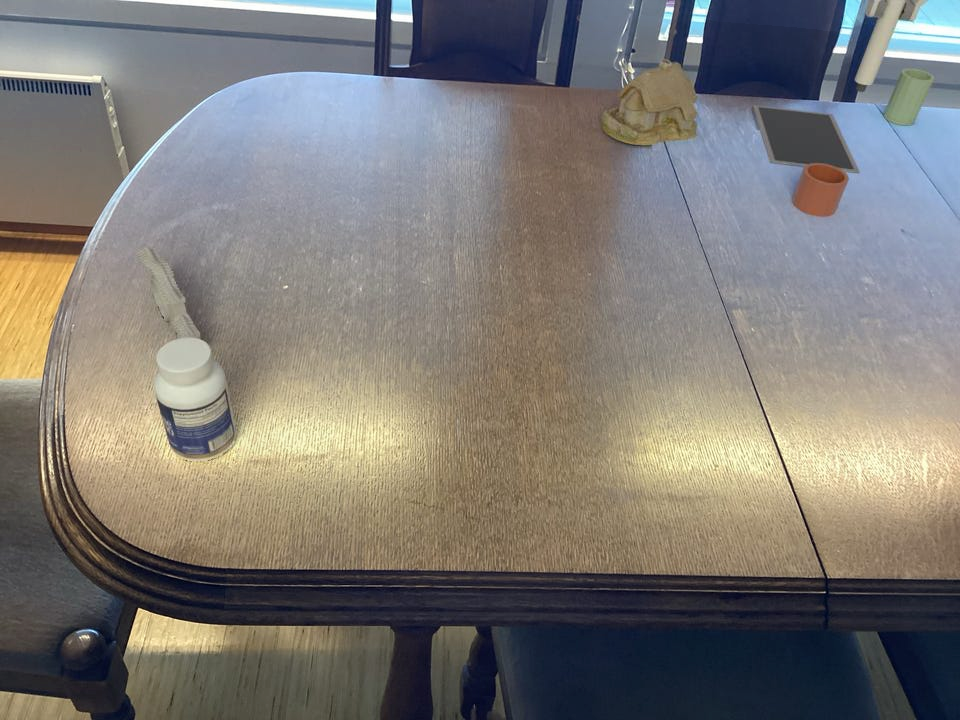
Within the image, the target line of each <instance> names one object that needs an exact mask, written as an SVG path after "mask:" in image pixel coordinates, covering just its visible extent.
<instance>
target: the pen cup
mask: <svg viewBox="0 0 960 720" xmlns="http://www.w3.org/2000/svg"><path fill="white" fill-rule="evenodd" d="M934 80H935V76H934V75H933V74H932V73H930V72H928V71H926V70H923V69H918V68H912V67H911V68H909V67H908V68H904V69H902V70H901V72H900V75H899V77H898V79H897V82H896V84H895V86H894V89H893V91H892V93H891V95H890V98H889V100H888V103H887V105H886V107H885V110H884V112H883V114H882V117H883V118H884V119H885V120H886V121H888V122H890V123H892V124H895V125H899V126H912V125H914V124H915V122H916V120H917V118H918V116H919V113H920V111H921V109H922V107H923V105H924V103H925V100H926V98H927V96H928V94H929V92H930V90H931V87H932V85H933V83H934Z"/></svg>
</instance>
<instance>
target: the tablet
mask: <svg viewBox="0 0 960 720" xmlns="http://www.w3.org/2000/svg"><path fill="white" fill-rule="evenodd" d="M751 113H752V115H753V118H754V122H755V125H756V129H757V130H758V131H759V133H760V135H761V139H762V141H763V144H764V148H765V151H766V153H767V154H766V155H767V157H768V160H769V163H770V164H772V165H780V166H781V165H782V166H790V167H799V168H804V167H805V166H806V165H808V164H811V163H823V164H828V165H832V166H835V167H837V168H839V169H841V170H843V171H844V172H845V173H847V174H848V173H849V174H857V175H859V174H860V172H861V171H860V169H859V167H858V165H857V164H856V163H857V162H856V161H855V159H854V157H853V155H852V153H851V149H850V148H849V146H848V144H847V142H846V140H845V138H844V136H843V133H842V131H841V128H840V127H839V125H838V122H837V121H836V118H835V116H834V114H833V113H825V112H816V111H807V110H799V109H791V108H782V107H773V106H766V105H756V104H753V105H752V107H751Z"/></svg>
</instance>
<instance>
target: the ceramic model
mask: <svg viewBox="0 0 960 720" xmlns="http://www.w3.org/2000/svg"><path fill="white" fill-rule="evenodd" d="M616 97H617V98H618V99H620V104H619V106H616V107H612V108H611V109H606V110H603V112H602V113H601V116H600V119H601V120H600V123H601V129H602V131H603V132H604V133H605V134H606V135H608V136H610V138H613V139H614V140H617V141H619V142H623V143H626V144H629V145H634V146H635V145H636V146H653V145H654V144H655V145H656V144H657V143H660V142H671V141H673V142H674V141H686V140H691V139H694V138H696V137H697V136H698V134H697V129H698V127H697V126H698V123H697V121H696V118H697V117H698V111H697V109H696V107H695V105H694V104H695V103H696V102H697V95H696V90H695V86H694V84H693V81H692V79H690V78H689V77H688V75H687V73H686V72H685V70H684V69H683V67H682V64H681V63H679V62H678V61H671V60H669V59H667V58H664V59H662V60H660V61H659V65H658V66H656V67H653V68H649V69H645V70H644V71H643V72H642V73H641V74H638V75H637V76H636V77H635V78H634V79H631V80H630V81H629V82H628V83H627V84H626V85H624V86H623V87H622V88H621V90H620V91H619V92H618V93H617V96H616Z"/></svg>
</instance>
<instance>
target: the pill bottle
mask: <svg viewBox="0 0 960 720" xmlns="http://www.w3.org/2000/svg"><path fill="white" fill-rule="evenodd" d="M211 348H212V347H211V346H210V345H209V343H207V342H206V341H205V340H204V339H198V338H191V337H185V338H179V339H178V338H176V339H173V340H171V341H168V342H166V343H164V345H162V346H161V347H160V348H159V350H158V351H157V354H156V359H155V360H156V365H157V368H158V371H157V373H156V374H155V377H154V382H153V390H154V396H155V398H156V402H157V406H158V409H159V413H160V416H161V420H162V425H163V427H164V431H165V434H166V437H167V441H168V444H169V447H170V450H171V449H172V450H173V451H172V450H171V451H172V453H173V452H174V453H175V454H176V455H178V456H179V457H181V458H183V459H186V460H189V461H190V460H191V461H203V460H209V459H212V458H214V457H218V456H219V455H221V454H223V453H224V452H225V451H226V450H228V448H230V446H231V445H232V443H233V441H234V440H235V441H236V438H235V436H236V437H237V430H236V423H235V418H234V412H233V407H232V402H231V398H230V391H229V386H228V381H227V377H226V373H225V370H224V369H223V367H222V366H221V364H220V363H219V362H217V361H216V360H215V358H214V356H213V353H212V349H211ZM230 449H231V448H230ZM228 451H229V450H228ZM174 453H173V454H174ZM175 454H174V455H175ZM176 455H175V456H176ZM179 457H178V458H179Z"/></svg>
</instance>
